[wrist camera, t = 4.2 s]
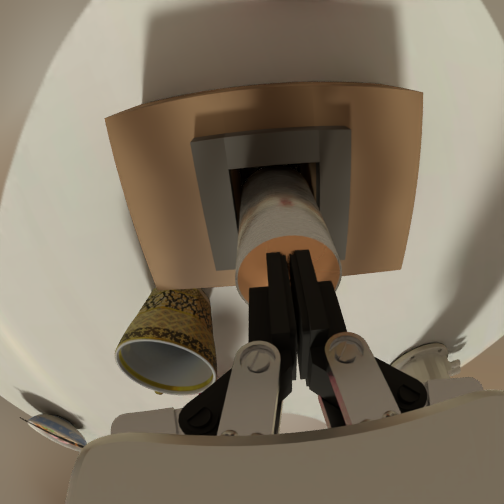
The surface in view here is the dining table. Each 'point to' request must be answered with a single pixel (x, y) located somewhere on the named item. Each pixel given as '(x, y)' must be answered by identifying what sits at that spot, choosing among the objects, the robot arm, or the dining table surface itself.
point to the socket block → (263, 154)
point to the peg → (281, 228)
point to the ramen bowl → (58, 431)
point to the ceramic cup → (171, 343)
